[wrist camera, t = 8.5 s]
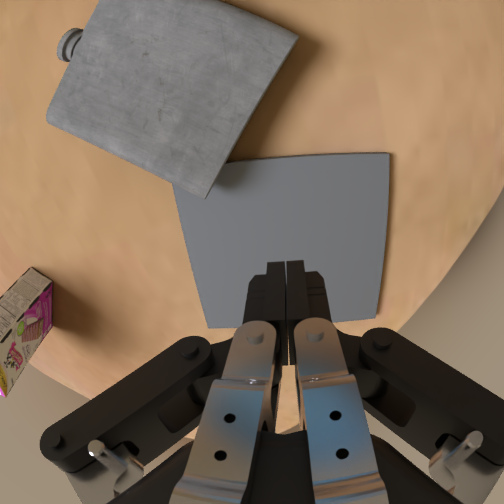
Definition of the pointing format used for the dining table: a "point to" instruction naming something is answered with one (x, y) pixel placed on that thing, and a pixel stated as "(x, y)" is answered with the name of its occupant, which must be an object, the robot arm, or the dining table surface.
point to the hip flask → (167, 83)
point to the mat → (290, 229)
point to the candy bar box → (23, 324)
